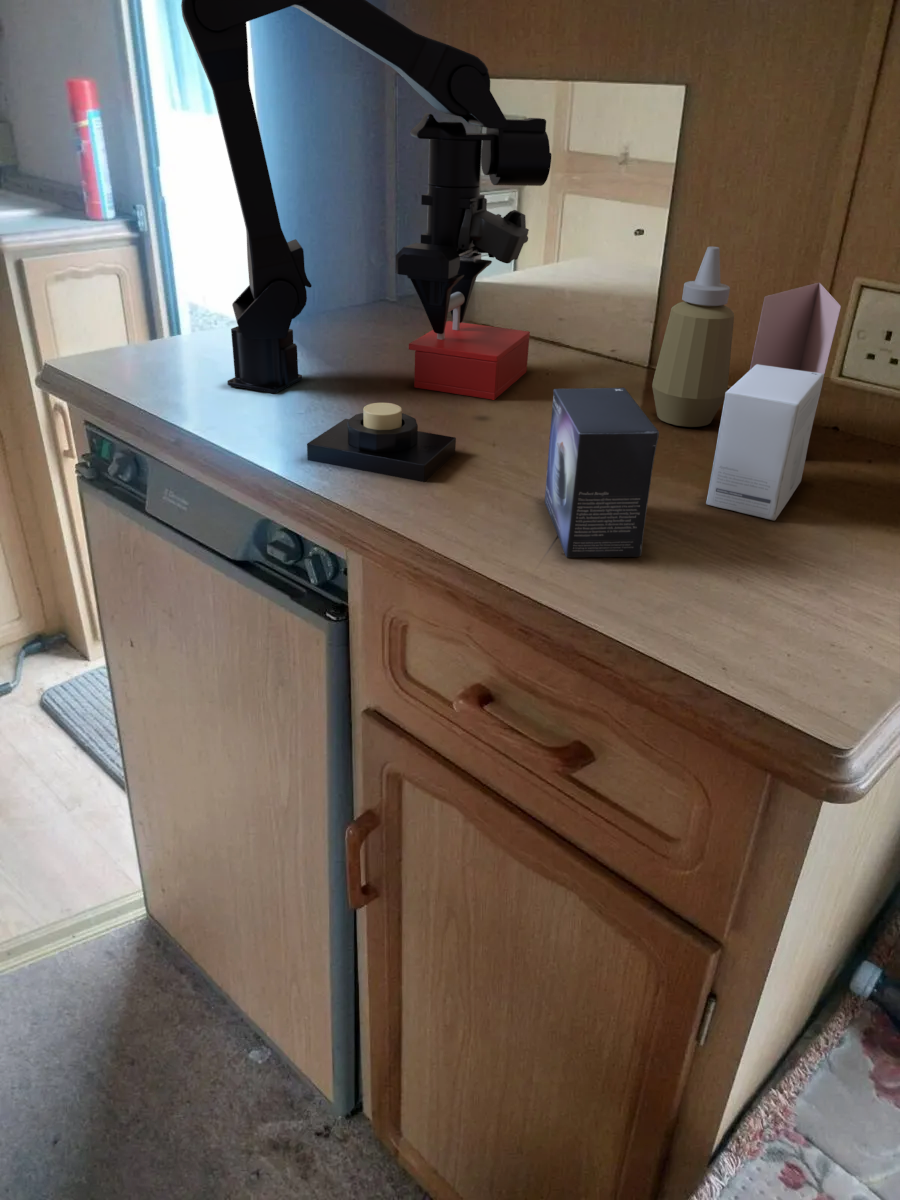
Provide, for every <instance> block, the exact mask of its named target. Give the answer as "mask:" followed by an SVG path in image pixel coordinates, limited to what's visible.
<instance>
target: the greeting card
mask: <svg viewBox="0 0 900 1200" xmlns="http://www.w3.org/2000/svg"><path fill="white" fill-rule="evenodd" d="M841 308H842V306H841V304H840V303H839V302H838V301H837V300H836V299H835V298H834V296H833V295H831V294H830V292H829V291H828V290H827V289H826V288H825V287H824V285H823V284H822V283H821V282H816V283H812V284H808V285H804V286H800V287H795V288H792V289H789V290H785V291H781V292H776V293H774V294H768V295H765V296H764V299H763V303H762V307H761V313H760V318H759V323H758V328H757V333H756V338H755V343H754V348H753V353H752V357H751V362H750V367H749V370H751V369H752V368H753V367H754V366H755V365H756V364H759V365H766V366H773V367H780V368H787V369H794V370H801V371H808V372H816V373H822V374H824V375H825V373H826V370H827V366H828V361H829V357H830V353H831V350H832V345H833V341H834V337H835V334H836V328H837V325H838V320H839V317H840V313H841Z"/></svg>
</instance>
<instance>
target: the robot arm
mask: <svg viewBox="0 0 900 1200" xmlns="http://www.w3.org/2000/svg"><path fill="white" fill-rule="evenodd" d="M180 7H181V17H182V19H183V22H184V25H185V27H186V30H187V32H188V35H189V37H190V39H191V42H192V44H193V47H194V48H195V52H196V54H197V57H198V59H199V61H200V63H201V67H202V68H203V71H204V73H205V76H206V78H207V80H208V82H209V85H210V87H211V90H212V94H213V98H214V103H215V106H216V111H217V115H218V119H219V123H220V127H221V130H222V135H223V140H224V143H225V148H226V152H227V157H228V161H229V164H230V169H231V172H232V176H233V177H232V178H233V181H234V184H235V189H236V193H237V198H238V201H239V205H240V209H241V214H242V218H243V222H244V226H245V231H246V250H247V251H246V255H247V270H248V286H247V287H246V288H245V289H244V290H243V291H242V293H240V294H239V296H238V297H236V299H235V300H234V301H233V302H232V309H233V310H232V311H233V313H234V317H235V321H236V324H237V326H234V327H231V328H230V334H231V346H232V358H233V369H234V370H233V371H234V376H233V377H232V378H230V379H228V380H227V382H226V383H227V386H228V387H236V388H242V389H245V390H246V389H248V390H252V391H259V392H266V393H271V394H277V393H279V392H281V391H283V390H284V389H287V388H288V387H290V386H292V385H294V384H296V383H298V382H300V381H302V380H303V375H302V374H300V373H299V362H298V361H299V359H298V345H297V344H296V343H294V330H293V328H291V325H292V324H291V323H292V321H293V320H294V319H296V318H297V317H298V316H299V315H301V313H302V311H303V310H304V308H305V307H306V305H307V301H308V295H307V288H312V286H313V285H312V283H311V281H310V280H309V279H308V277H307V274H306V269H305V254H304V253H305V252H304V248H303V247H302V245H301V244H300V243H299V241H298V240H297V239H296V238H295V239H293V240H289V241H287V239H286V237H285V234H284V232H283V228H282V226H281V222H280V216H279V212H278V208H277V204H276V199H275V193H274V189H273V185H272V181H271V180H272V179H271V176H270V172H269V167H268V163H267V162H268V161H267V158H266V154H265V153H266V152H265V149H264V146H263V145H264V144H263V140H262V136H261V131H260V127H259V122H258V118H257V113H256V109H255V104H254V101H253V96H252V92H251V91H252V90H251V86H250V73H249V72H250V71H249V44H248V43H249V42H248V30H247V29H248V28H247V23H248V22H251V21H253V20H256V19H259V18H262V17H265V16H267V15H271V14H273V13H276V12H279V11H283V10H284V9H287V8H291V7H292V8H295V9H298V10H300V11H301V12H303V13H304V14H306V15H307V16H309V17H311V19H314V20H315V21H317V22H319V23H320V24H322V25H323V26H325V27H327V28H328V29H330V30H332V31H333V32H334V33H336V34H338V35H339V36H341V37H342V38H344V39H345V40H347V41H349V42H351V43H352V44H354V45H356V46H357V47H359V48H361V49H362V50H364V51H365V52H366V53H369V54H370V55H372V56H373V57H375V59H378V60H379V61H381V62H383V63H384V64H386V65H387V66H389V67H391V68H392V69H393V70H394V71H395V72H397V73H398V75H400V76H401V77H402V78H403V79H404V80H405V81H406V82H407V83H408V84H409V85H410V86H411V87H412V89H413V90H415V92H417V94H419V95H420V96H421V97H422V98H423V99H424V100H425V101H426V102H428V103H429V104H430V105H431V106H432V107H433V108H434V109H435V110H437V111H438V112H441V113H443V114H445V115H450V116H454V117H459V118H461V119H462V120H464V122H466V123H467V124H469V125H472V126H477V127H482V128H486V131H485V132H486V133H485V132H483V133H482V132H481V133H480V132H467V130H466V127H465V125H464V124H463V122H461V121H438V120H437V119H436V118H435V117H434V115H433V114H432V113H428V112H425V113H424V114H423V117H422V118H421V120H420V121H419V122H418V123H417V124H416V125H415V126H414V127H413V128H411V129H410V132H409V133H410V136H411V137H413V138H415V139H418V140H428V174H427V175H428V176H427V177H428V178H427V183H428V184H427V193H424V194H421V199H420V200H421V201H420V202H421V203H420V204H421V206H427V219H426V232H424V233H421V234H420V242H413V243H411V244H409V245H408V244H407V245H406V246H403V247H402V248H401V249H400V250H399V251H398V252H397V253H396V254H395V274H397V275H400V276H406V278H407V279H410V282H411V283H412V286H413V287H414V290H415V292H416V294H417V296H418V298H419V300H420V302H421V304H422V307H423V309H424V311H425V314H426V317H427V319H428V321H429V323H430V326H431V328H432V330H434V332H435V333H437V334H443V333H444V330H445V326H446V322H447V321H448V314H449V312H448V308H449V302H450V296H451V294H453V293H455V292H461V293H462V294H463V295H464V298H465V300H464V303H463V304H462V305H460V323H463V321H464V318H465V316H466V311H467V309H468V305H469V301H470V300H471V299H470V298H471V296H472V292H473V289H474V286H475V283H476V280H477V278H478V276H479V275H480V274H481V273H482V272H484V270H485V269H487V268H488V267H489V266H490V265H491V264H492V263H493V261H492V260H489V259H482V254H487V255H488V258H491V259H492V258H493V259H494V258H495V260H497V261H499V262H501V263H503V264H510V263H512V261H514V260H515V261H516V260H518V259H519V256H520V254H521V252H522V249H523V246H524V244H526V243H527V242H528V241H529V236H528V235H529V231H530V229H529V228H527V225H526V223H527V222H526V215H525V214H524V213H522V212H520V211H519V210H517V209H513V210H510V211H509V212H507V213H506V214H505V215H504V216H502V214H500V213H497V214H495V213H493V212H491V211H489V210H487V208H488V207H487V205H488V200H487V199H488V198H486V197H485V196H486V195H485V194H481V193H480V183H481V182H480V181H481V171H482V173H483V175H484V176H488V177H489V181H490V183H491V184H492V185H493V186H518V187H519V186H521V187H522V186H523V187H524V186H526V187H527V186H528V187H530V186H531V187H542V186H543V185H545V184H546V183H547V180H548V177H549V175H550V171H551V165H552V153H551V150H550V149H551V148H550V138H549V135H548V132H547V131H546V130H547V120H546V119H545V118H543V117H542V118H541V117H528V118H523V119H516V118H515V119H514V118H506V116H505V114H504V113H503V111H502V109H501V107H500V106H499V104H498V102H497V100H496V99H495V97H494V95H493V93H492V91H491V78H490V72H489V68H488V67H487V65H486V63H485V62H484V61H483V60H482V59H480V58H479V57H478V56H476V55H475V54H472V53H470V52H467V51H466V50H463V49H460V48H457V47H455V46H452V45H450V44H448V43H444V42H442V41H439V40H436V39H433V38H430V37H427V36H426V35H425V36H424V35H422V34H420V33H418V32H415V31H414V30H412V29H410V28H409V27H408V26H406V25H404V24H403V23H402V22H401V21H398V20H397V19H395V18H394V17H392V16H391V15H389V14H387V13H386V12H385V11H383V10H381V9H380V8H378V7H377V6H376V5H374V4H373V3H371V2H370V1H368V0H181V4H180ZM450 315H451V318H452V319H453V310H451V311H450Z"/></svg>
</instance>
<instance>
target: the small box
mask: <svg viewBox="0 0 900 1200" xmlns="http://www.w3.org/2000/svg"><path fill="white" fill-rule="evenodd" d="M552 394H553V395H552V405H551V408H552V409H551V418H550V429H549V444H548V454H547V467H546V480H545V490H544V491H545V492H544V505H545V507H546V510H547V512H548V515H549V517H550V520H551V523H552V525H553V528H554V530H555V533H556V535H557V538H558V539H559V543H560V545H561V548H562V551H563V553H564V555H565V557H566V558H635V557H637V558H639V557H641V556H642V554H643V553H642V552H643V542H644V535H645V534H644V533H645V525H646V518H647V511H648V503H649V496H650V490H651V489H650V488H651V482H652V475H653V468H654V463H655V462H654V461H655V455H656V451H657V446H658V441H659V437H660V431H659V430H658V428H657V427H656V426H655V424H653V422H652V421H651V420H650V418H649V417H648V416H647V414H646V413H645V412H644V410H643V409H642V408H641V407H640V406H639V404H638V403H637V402H636V401H635V399H634V398H633V397H632V395H631V394H630V393H629V392H628V390H627V389H626V388H625V387H594V388H593V387H587V388H584V387H583V388H577V387H576V388H554V389H553V393H552Z"/></svg>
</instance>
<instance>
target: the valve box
mask: <svg viewBox="0 0 900 1200" xmlns="http://www.w3.org/2000/svg"><path fill="white" fill-rule="evenodd" d="M529 346H530V337H529V338H527V339H526V340H525V341H524V342H522V343H521V344H520V345H518V346H517V347H516V348H514V349H513V350H512V351H511V352H509V353H508V354H507V355H505V356H504V357H503V358H501V359H500V360H499V361H498V362H492V361H485V360H478V359H471V358H464V357H457V356H450V355H443V354H436V353H429V352H422V351H415V350H414V381H413V382H414V384H413V385H414V386H413V388H415V389H421V390H429V391H435V392H440V393H447V394H454V395H460V396H467V397H474V398H479V399H485V400H491V401H494V400H496V399H497V398H499V396H501V395H502V394H503V393H504V392H506V391H507V390H508V389H509V388H510V387H511V386H513V384H515V383H516V382H518V380H519V379H521V378H522V377H523V376H524V375H525V374H526V373H528V361H529V359H528V358H529V349H530V348H529Z"/></svg>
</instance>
